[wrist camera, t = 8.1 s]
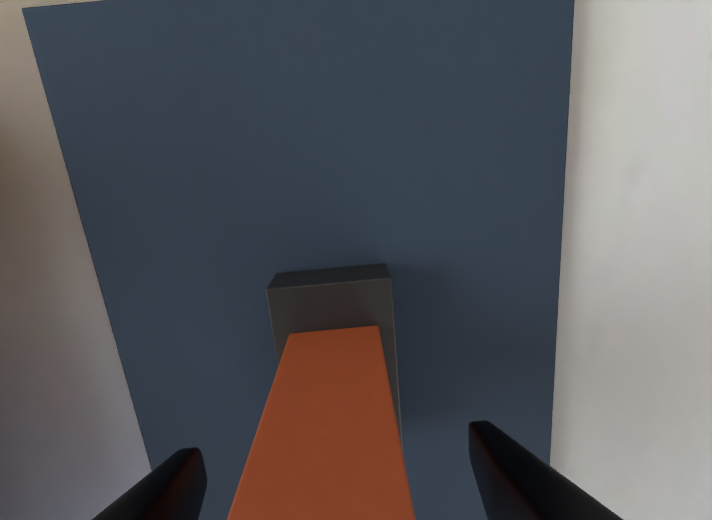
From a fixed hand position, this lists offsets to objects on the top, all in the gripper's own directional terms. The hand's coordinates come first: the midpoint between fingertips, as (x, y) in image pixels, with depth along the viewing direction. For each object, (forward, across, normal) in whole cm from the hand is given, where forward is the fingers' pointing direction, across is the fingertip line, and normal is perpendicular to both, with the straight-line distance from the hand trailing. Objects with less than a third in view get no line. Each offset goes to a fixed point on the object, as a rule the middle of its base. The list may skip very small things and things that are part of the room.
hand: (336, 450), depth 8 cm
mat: (+5, 0, 0) cm, 5 cm away
